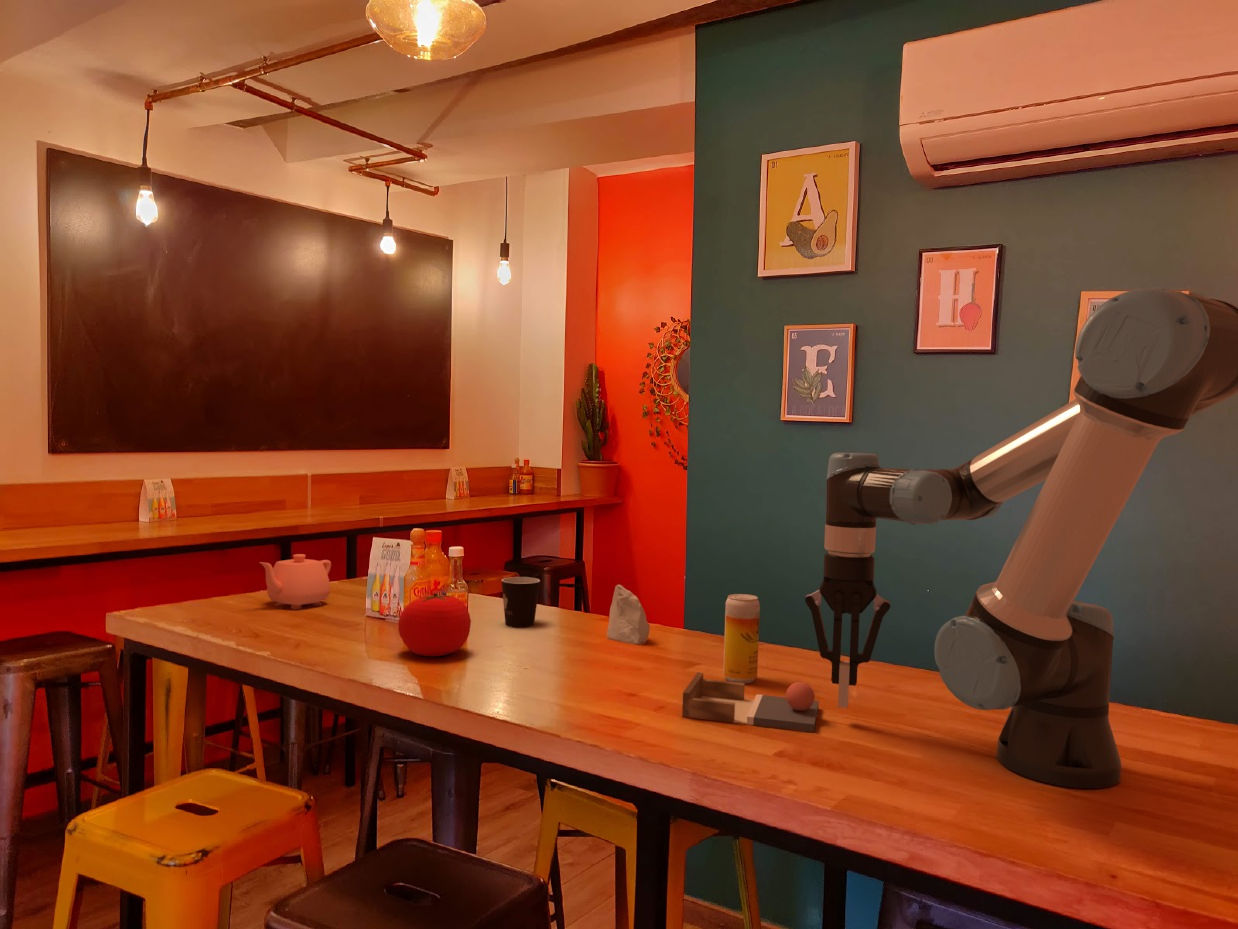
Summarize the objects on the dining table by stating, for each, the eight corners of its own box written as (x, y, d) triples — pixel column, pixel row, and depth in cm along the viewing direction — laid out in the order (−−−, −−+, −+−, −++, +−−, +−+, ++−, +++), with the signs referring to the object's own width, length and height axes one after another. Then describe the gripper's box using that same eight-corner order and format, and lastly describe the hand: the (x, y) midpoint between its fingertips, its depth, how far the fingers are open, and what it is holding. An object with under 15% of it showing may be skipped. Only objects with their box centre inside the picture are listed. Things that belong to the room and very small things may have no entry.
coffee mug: (536, 629, 192) (538, 584, 191) (497, 628, 192) (498, 583, 191) (542, 618, 203) (543, 575, 203) (505, 617, 203) (506, 574, 203)
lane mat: (818, 708, 142) (818, 701, 142) (813, 732, 130) (814, 724, 130) (696, 694, 147) (697, 687, 147) (682, 716, 136) (682, 709, 136)
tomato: (449, 665, 161) (450, 602, 160) (385, 657, 165) (386, 596, 165) (482, 649, 173) (483, 591, 173) (421, 642, 177) (423, 585, 177)
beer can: (756, 685, 154) (759, 601, 153) (721, 682, 155) (724, 598, 155) (757, 676, 160) (760, 594, 159) (724, 673, 161) (727, 592, 160)
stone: (651, 643, 183) (653, 588, 182) (632, 646, 179) (635, 590, 179) (619, 633, 190) (621, 580, 190) (601, 636, 187) (603, 582, 187)
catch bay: (744, 700, 145) (744, 677, 145) (733, 722, 134) (734, 698, 134) (696, 694, 147) (697, 672, 147) (682, 716, 136) (682, 692, 136)
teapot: (241, 608, 205) (242, 556, 204) (312, 595, 222) (313, 548, 221) (277, 616, 198) (278, 562, 197) (348, 602, 214) (348, 553, 214)
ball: (820, 712, 136) (821, 684, 136) (800, 716, 134) (801, 688, 134) (799, 704, 140) (800, 677, 140) (779, 708, 137) (780, 680, 137)
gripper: (893, 553, 136) (886, 702, 137) (807, 547, 139) (801, 693, 140) (894, 559, 129) (887, 717, 130) (804, 553, 132) (798, 707, 133)
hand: (843, 704), depth 135 cm, fingers closed
